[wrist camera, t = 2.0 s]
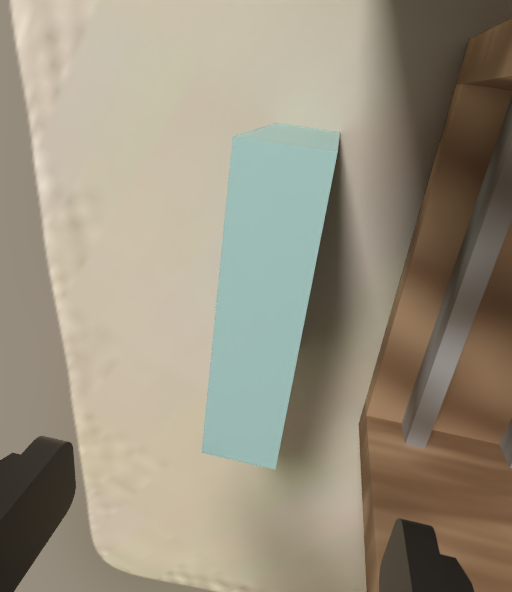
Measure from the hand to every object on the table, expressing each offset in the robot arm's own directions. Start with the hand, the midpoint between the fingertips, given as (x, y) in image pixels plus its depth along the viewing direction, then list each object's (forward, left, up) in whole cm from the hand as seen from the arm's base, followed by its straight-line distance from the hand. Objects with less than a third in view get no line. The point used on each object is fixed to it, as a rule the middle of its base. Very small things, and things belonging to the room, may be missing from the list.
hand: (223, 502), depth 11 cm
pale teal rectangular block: (-1, -1, -19) cm, 19 cm away
